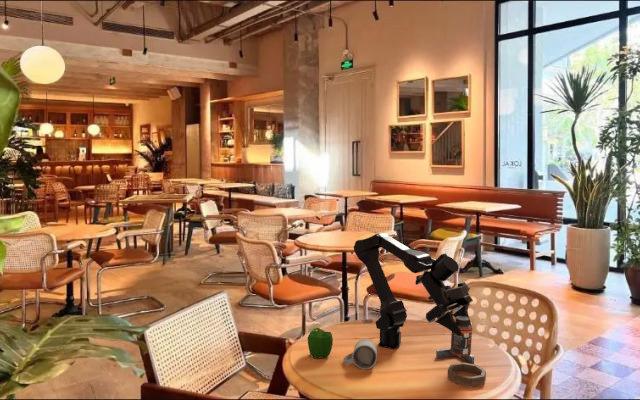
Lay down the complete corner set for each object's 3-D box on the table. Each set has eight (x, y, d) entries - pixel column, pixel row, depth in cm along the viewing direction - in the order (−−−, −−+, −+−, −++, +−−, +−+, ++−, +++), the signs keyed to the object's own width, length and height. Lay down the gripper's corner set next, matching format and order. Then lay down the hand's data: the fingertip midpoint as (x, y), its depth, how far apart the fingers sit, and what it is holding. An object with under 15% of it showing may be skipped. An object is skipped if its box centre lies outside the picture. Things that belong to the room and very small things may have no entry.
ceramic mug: (377, 359, 166) (376, 336, 166) (377, 370, 158) (376, 346, 157) (344, 358, 168) (344, 335, 167) (342, 369, 159) (342, 345, 159)
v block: (473, 364, 162) (473, 357, 162) (435, 358, 167) (435, 350, 167) (477, 355, 170) (477, 348, 169) (440, 349, 175) (440, 342, 174)
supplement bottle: (471, 358, 153) (473, 322, 152) (450, 356, 155) (452, 320, 153) (470, 351, 159) (472, 315, 158) (450, 348, 160) (452, 313, 159)
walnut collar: (445, 382, 150) (445, 373, 150) (452, 368, 160) (452, 360, 159) (482, 389, 146) (482, 380, 146) (486, 374, 155) (487, 366, 155)
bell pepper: (327, 349, 174) (327, 320, 173) (336, 358, 167) (336, 329, 166) (303, 352, 171) (303, 323, 170) (311, 362, 164) (311, 332, 163)
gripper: (436, 280, 150) (468, 326, 144) (468, 269, 163) (499, 312, 157) (412, 299, 157) (442, 345, 150) (446, 288, 170) (474, 329, 163)
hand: (465, 332), depth 155 cm, fingers closed on supplement bottle, 6 cm apart
